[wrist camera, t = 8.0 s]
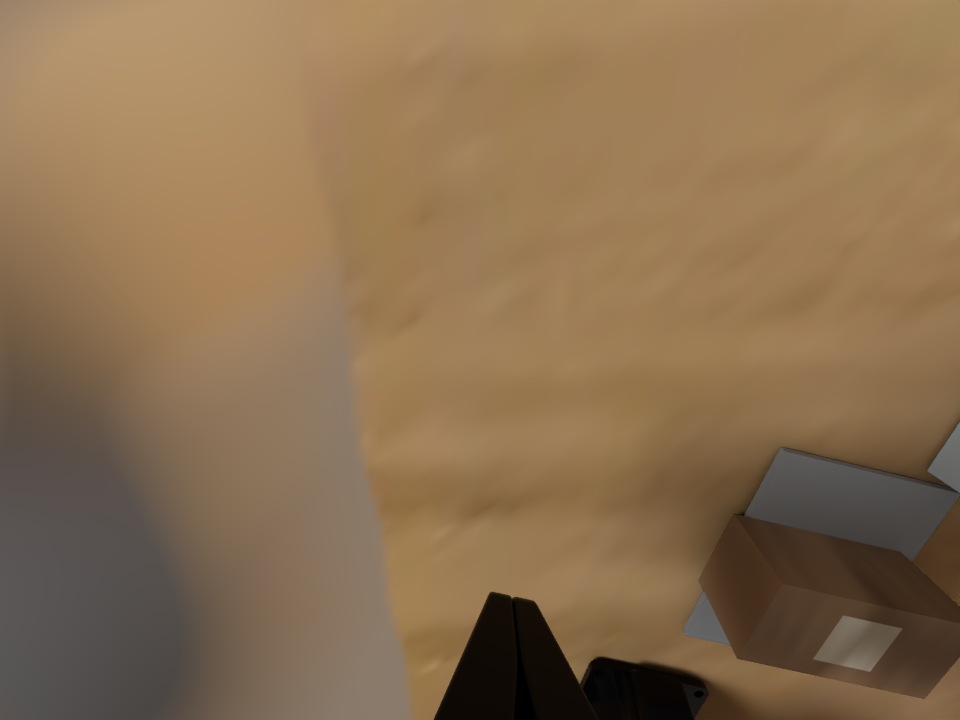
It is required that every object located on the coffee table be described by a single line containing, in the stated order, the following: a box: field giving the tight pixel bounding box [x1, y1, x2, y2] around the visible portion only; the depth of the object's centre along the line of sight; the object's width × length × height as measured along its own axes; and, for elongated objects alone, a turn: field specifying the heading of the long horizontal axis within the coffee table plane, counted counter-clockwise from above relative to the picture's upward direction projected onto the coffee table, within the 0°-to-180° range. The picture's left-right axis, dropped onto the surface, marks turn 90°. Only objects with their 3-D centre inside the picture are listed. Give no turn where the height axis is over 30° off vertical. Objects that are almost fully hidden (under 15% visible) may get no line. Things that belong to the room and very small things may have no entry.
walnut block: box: [699, 514, 960, 699], centre depth 20 cm, size 4×4×8 cm
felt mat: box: [683, 447, 960, 645], centre depth 23 cm, size 11×8×1 cm
